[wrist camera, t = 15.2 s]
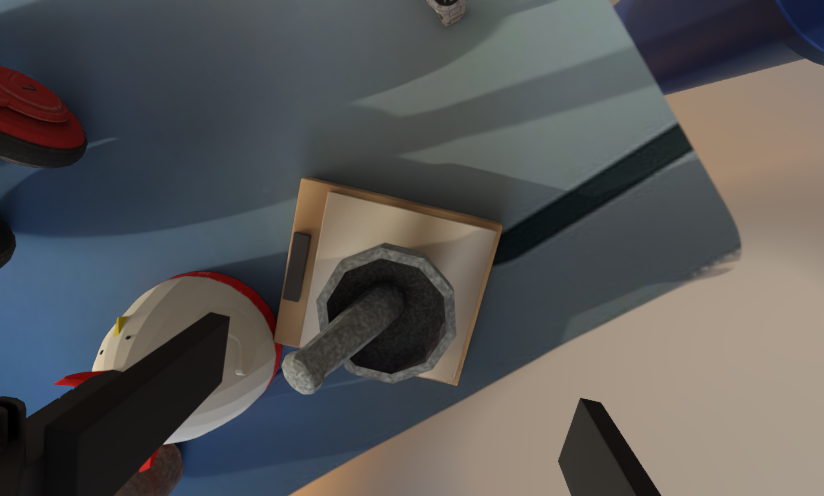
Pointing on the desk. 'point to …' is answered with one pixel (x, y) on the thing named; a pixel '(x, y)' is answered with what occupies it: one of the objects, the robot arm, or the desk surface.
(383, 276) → the mortar and pestle
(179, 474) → the brown stone cylinder
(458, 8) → the wristwatch
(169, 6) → the desk surface
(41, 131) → the headphones
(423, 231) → the scale
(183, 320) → the kitchen timer
